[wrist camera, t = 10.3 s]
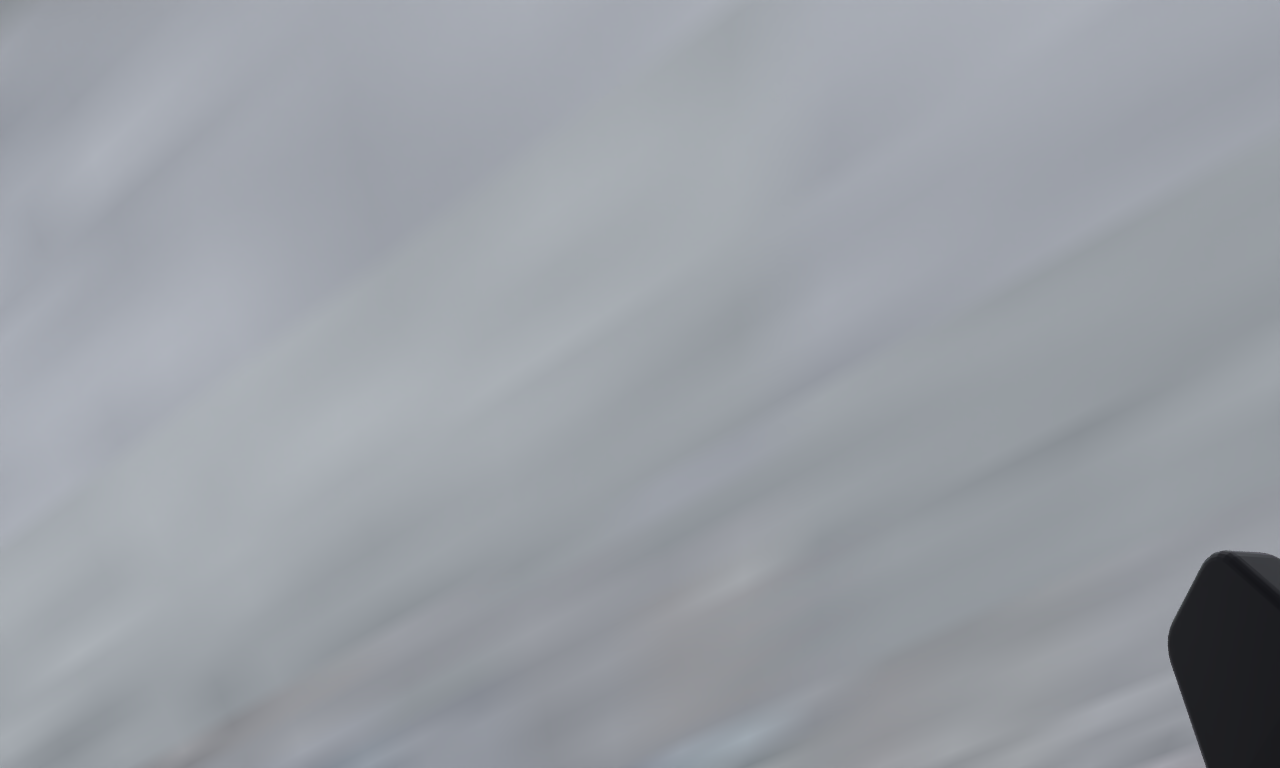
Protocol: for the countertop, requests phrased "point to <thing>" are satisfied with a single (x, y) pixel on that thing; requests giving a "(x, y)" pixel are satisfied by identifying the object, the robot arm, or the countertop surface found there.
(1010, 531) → the countertop surface
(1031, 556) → the countertop surface
